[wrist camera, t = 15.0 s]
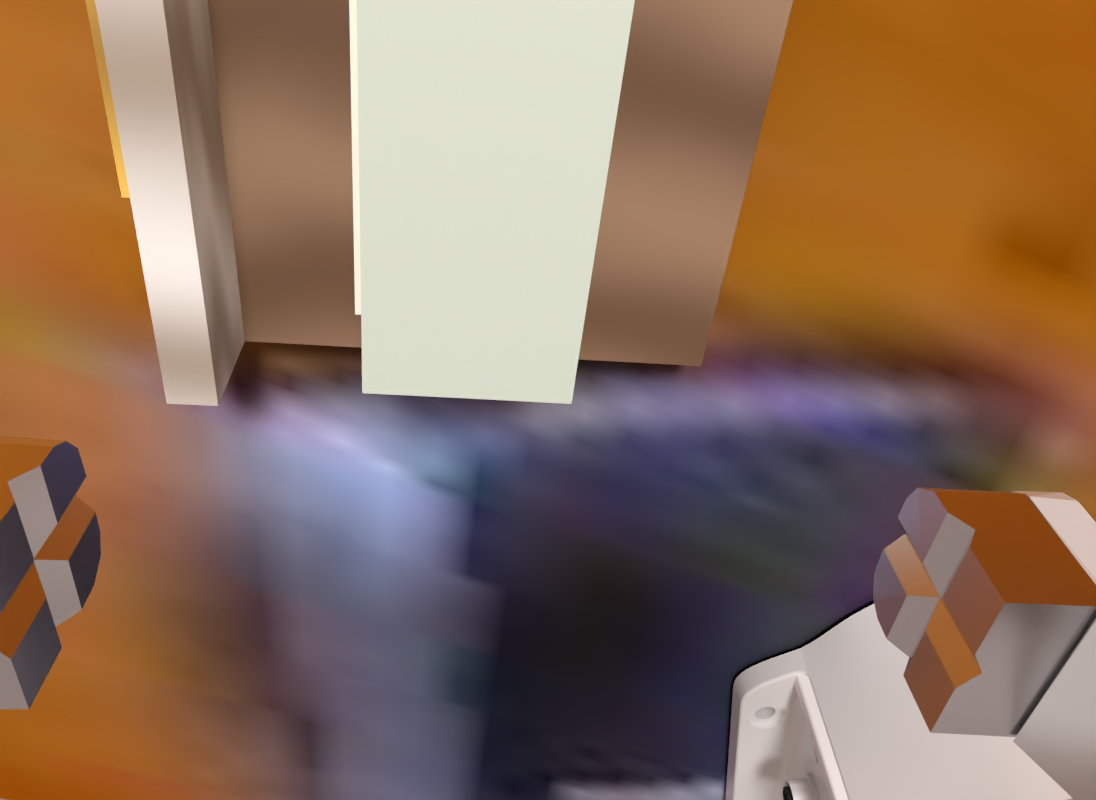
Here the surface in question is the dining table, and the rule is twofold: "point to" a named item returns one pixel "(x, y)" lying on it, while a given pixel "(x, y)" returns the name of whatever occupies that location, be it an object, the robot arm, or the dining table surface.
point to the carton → (479, 189)
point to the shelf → (327, 185)
